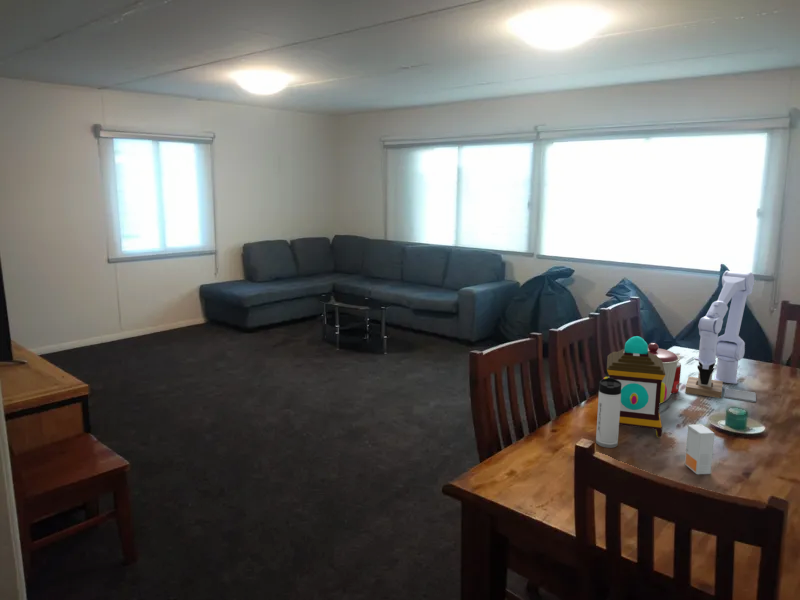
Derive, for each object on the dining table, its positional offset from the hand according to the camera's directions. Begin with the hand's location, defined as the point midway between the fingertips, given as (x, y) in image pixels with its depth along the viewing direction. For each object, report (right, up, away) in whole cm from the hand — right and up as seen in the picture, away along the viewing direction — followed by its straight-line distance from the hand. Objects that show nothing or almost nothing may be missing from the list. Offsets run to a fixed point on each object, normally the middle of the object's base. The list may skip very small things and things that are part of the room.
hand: (704, 382), depth 222 cm
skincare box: (-35, -15, -62) cm, 73 cm away
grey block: (0, -3, +1) cm, 3 cm away
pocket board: (0, -3, +1) cm, 3 cm away
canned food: (-14, -3, +1) cm, 14 cm away
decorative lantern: (-41, -10, -32) cm, 53 cm away
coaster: (+10, -4, -6) cm, 12 cm away
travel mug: (-54, -12, -46) cm, 72 cm away
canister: (-25, -5, -8) cm, 26 cm away
